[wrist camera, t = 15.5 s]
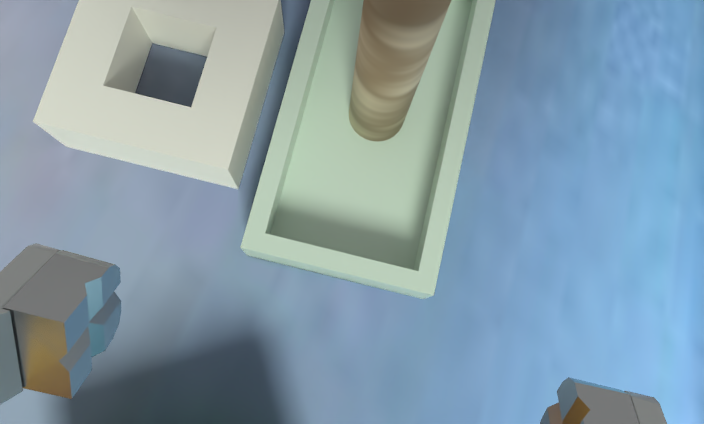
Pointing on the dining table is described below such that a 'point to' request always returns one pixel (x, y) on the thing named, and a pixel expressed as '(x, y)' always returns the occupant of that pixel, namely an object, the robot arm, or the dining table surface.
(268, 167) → the tray
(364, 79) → the dowel
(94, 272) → the robot arm
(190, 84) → the dining table surface
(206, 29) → the socket block
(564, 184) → the dining table surface
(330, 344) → the dining table surface
